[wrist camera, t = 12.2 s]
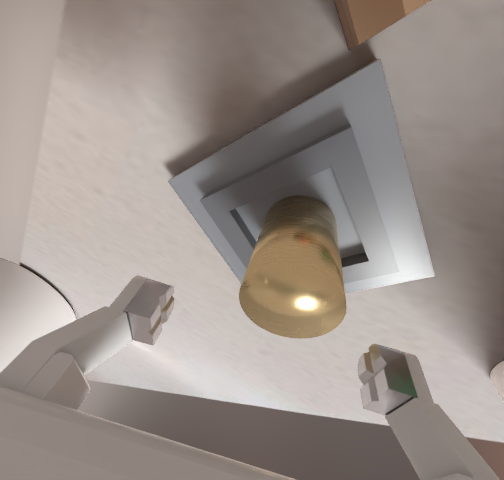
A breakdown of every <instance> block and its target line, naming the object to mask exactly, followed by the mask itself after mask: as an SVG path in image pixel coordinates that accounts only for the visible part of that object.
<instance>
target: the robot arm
mask: <svg viewBox="0 0 504 480" xmlns="http://www.w3.org/2000/svg"><path fill="white" fill-rule="evenodd" d="M173 293H174V286H171V285H167V284H164V283H161V282H158V281H154V280H151V279H148V278H145V277H141V276H138V275H137V276H136V277H134V278H133V279H132V280H131V281H130V282H129V284H128V285H127V286H126V287H125V288H124V290H123V291H122V292H121V293H120V295H119V296H118V297H117V298H116V299H115V301H114V302H113V303H112V304H111V305H110V307H106V306H105V307H103V308H101V309H99V310H97V311H94V312H92V313H90V314H88V315H86V316H84V317H82V318H80V319H78V320H76V317H75V314H74V312H73V310H72V308H71V307H70V305H69V304H68V303H67V301H66V300H65V299H64V298H63V297H62V296H61V295H60V294H59V293H58V292H57V291H56V290H55V289H54V288H53V287H51V286H50V285H49V284H48V283H46V282H45V281H44V280H42V279H41V278H40V277H38V276H37V275H35V274H34V273H32V272H30V271H29V270H27V269H25V268H23V267H21V266H19V265H17V264H15V263H13V262H10V261H8V260H5V259H2V258H0V480H296V479H293V478H289V477H286V476H283V475H280V474H277V473H273V472H270V471H267V470H264V469H261V468H258V467H255V466H251V465H248V464H245V463H242V462H239V461H235V460H232V459H229V458H226V457H223V456H220V455H217V454H214V453H210V452H207V451H204V450H201V449H198V448H194V447H191V446H188V445H185V444H182V443H178V442H175V441H172V440H169V439H166V438H163V437H160V436H157V435H153V434H150V433H147V432H144V431H140V430H138V429H135V428H131V427H128V426H125V425H122V424H119V423H116V422H112V421H109V420H106V419H103V418H100V417H97V416H93V415H90V414H87V413H84V412H81V411H78V409H79V407H80V406H81V404H82V403H83V401H84V400H85V398H86V396H87V395H88V393H89V392H90V386H89V384H88V382H87V380H86V378H85V377H84V375H85V374H87V373H88V372H89V371H91V370H92V369H94V368H95V367H97V366H98V365H99V364H101V363H102V362H104V361H105V360H106V359H108V358H109V357H111V356H112V355H114V354H115V353H116V352H118V351H119V350H121V349H122V348H124V347H125V346H126V345H128V344H129V343H131V342H132V340H135V341H139V342H143V343H146V344H150V345H154V344H155V342H156V340H157V338H158V336H159V335H160V333H161V331H162V324H163V323H164V322H166V321H167V320H168V318H169V317H170V315H171V312H172V309H173V306H174V298H173V297H172V294H173ZM358 376H359V378H360V380H361V381H362V383H363V386H362V387H361V389H360V391H361V397H362V404H363V408H364V409H367V410H370V411H373V412H376V413H379V414H382V415H385V418H386V419H387V421H388V423H389V425H390V426H391V428H392V430H393V432H394V434H395V435H396V437H397V439H398V441H399V443H400V444H401V446H402V448H403V449H404V451H405V453H406V455H407V457H408V458H409V460H410V462H411V464H412V466H413V467H414V469H415V471H416V473H417V475H418V476H419V478H420V480H500V479H499V478H498V477H497V475H496V474H495V473H494V472H493V470H492V469H491V468H490V467H489V466H488V464H487V463H486V462H485V461H484V460H483V458H482V457H481V456H480V455H479V454H478V453H477V451H476V450H475V449H474V447H473V446H472V445H471V444H470V443H469V441H468V440H467V439H466V438H465V437H464V435H463V434H462V433H461V432H460V431H459V429H458V428H457V427H456V426H455V424H454V423H453V422H452V421H451V420H450V418H449V417H448V416H447V415H446V414H445V412H444V411H443V410H442V409H441V408H440V406H439V405H438V404H435V403H434V402H433V399H432V396H431V394H430V391H429V388H428V385H427V382H426V380H425V377H424V374H423V371H422V368H421V365H420V363H419V360H418V358H417V357H416V356H415V355H412V354H409V353H405V352H401V351H399V350H396V349H392V348H388V347H385V346H381V345H377V344H373V345H371V346H370V347H369V352H368V353H364V354H363V355H362V356H361V357H360V359H359V363H358Z"/></svg>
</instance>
